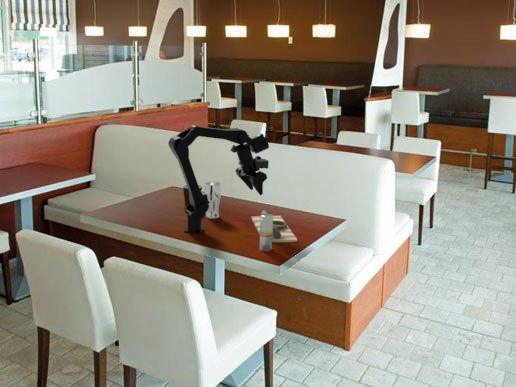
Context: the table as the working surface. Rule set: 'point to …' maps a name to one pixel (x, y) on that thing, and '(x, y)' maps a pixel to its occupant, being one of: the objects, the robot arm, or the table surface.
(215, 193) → the beer glass
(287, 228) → the shaft board
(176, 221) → the table surface
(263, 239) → the metal cup
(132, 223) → the table surface
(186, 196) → the coffee mug
